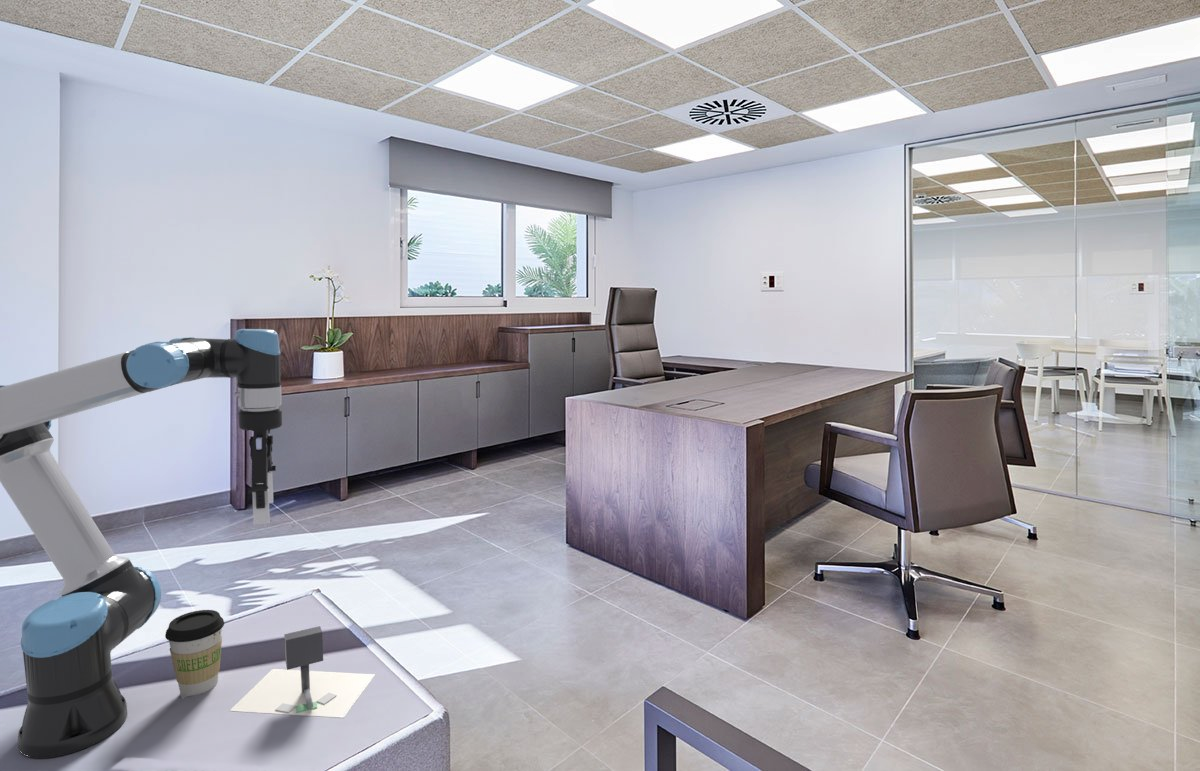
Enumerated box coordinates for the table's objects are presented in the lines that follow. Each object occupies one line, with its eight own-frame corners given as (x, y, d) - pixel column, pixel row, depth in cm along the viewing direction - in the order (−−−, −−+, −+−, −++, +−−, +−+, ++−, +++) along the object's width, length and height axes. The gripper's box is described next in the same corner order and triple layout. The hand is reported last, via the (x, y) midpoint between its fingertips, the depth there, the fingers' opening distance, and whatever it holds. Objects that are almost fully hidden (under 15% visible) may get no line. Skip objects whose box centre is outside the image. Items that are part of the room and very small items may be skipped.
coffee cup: (200, 709, 121) (195, 635, 119) (157, 702, 123) (151, 629, 121) (239, 680, 131) (235, 611, 129) (198, 674, 132) (193, 605, 131)
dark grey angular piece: (287, 692, 124) (284, 634, 123) (322, 682, 128) (320, 626, 126) (291, 715, 117) (288, 654, 116) (329, 704, 121) (326, 645, 119)
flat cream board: (229, 716, 119) (229, 709, 119) (272, 674, 133) (272, 667, 133) (343, 723, 118) (343, 716, 117) (375, 679, 131) (375, 673, 131)
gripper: (244, 399, 134) (248, 497, 137) (231, 419, 112) (235, 535, 114) (283, 398, 138) (286, 494, 140) (278, 417, 115) (282, 531, 118)
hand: (263, 513), depth 127 cm, fingers open, 13 cm apart
